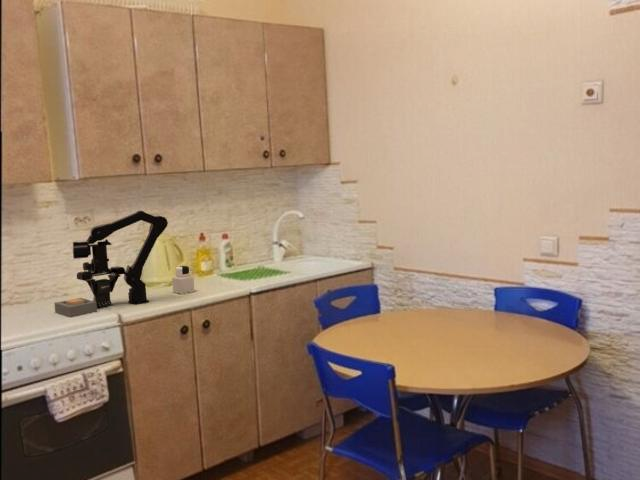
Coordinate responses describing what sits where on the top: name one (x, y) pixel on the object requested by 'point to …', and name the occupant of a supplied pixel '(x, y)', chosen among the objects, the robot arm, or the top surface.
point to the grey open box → (75, 308)
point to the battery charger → (103, 293)
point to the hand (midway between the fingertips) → (102, 293)
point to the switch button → (75, 302)
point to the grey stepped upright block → (183, 280)
